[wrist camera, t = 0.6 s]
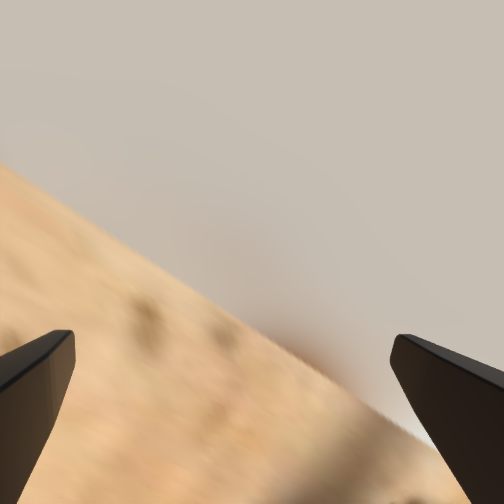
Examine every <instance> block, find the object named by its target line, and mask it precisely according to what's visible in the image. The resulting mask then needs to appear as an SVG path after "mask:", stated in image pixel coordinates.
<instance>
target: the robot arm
mask: <svg viewBox="0 0 504 504" xmlns="http://www.w3.org/2000/svg"><path fill="white" fill-rule="evenodd" d="M75 361H76V356H75V336H74V332H73V331H72V330H54V331H51V332H49V333H47V334H45V335H43V336H41V337H39V338H37V339H35V340H33V341H31V342H29V343H27V344H25V345H23V346H20V347H18V348H16V349H14V350H12V351H10V352H8V353H6V354H4V355H2V356H0V504H17V502H18V500H19V498H20V496H21V494H22V491H23V489H24V487H25V485H26V483H27V481H28V479H29V477H30V475H31V473H32V471H33V469H34V467H35V465H36V462H37V460H38V458H39V456H40V454H41V452H42V450H43V448H44V446H45V444H46V442H47V440H48V438H49V436H50V433H51V431H52V429H53V427H54V424H55V422H56V419H57V416H58V413H59V411H60V408H61V405H62V402H63V399H64V396H65V393H66V390H67V388H68V385H69V382H70V379H71V376H72V373H73V370H74V367H75ZM390 365H391V367H392V369H393V371H394V373H395V375H396V377H397V379H398V381H399V383H400V385H401V387H402V389H403V391H404V393H405V395H406V397H407V399H408V401H409V403H410V405H411V407H412V408H413V410H414V412H415V414H416V416H417V417H418V419H419V420H420V422H421V424H422V425H423V427H424V428H425V430H426V432H427V433H428V435H429V437H430V438H431V440H432V441H433V443H434V444H435V446H436V448H437V449H438V451H439V452H440V454H441V456H442V457H443V459H444V460H445V462H446V464H447V465H448V467H449V468H450V470H451V472H452V473H453V475H454V476H455V478H456V480H457V481H458V483H459V484H460V486H461V488H462V489H463V491H464V492H465V494H466V496H467V497H468V499H469V500H470V502H471V504H504V372H503V371H501V370H498V369H496V368H493V367H491V366H488V365H486V364H483V363H481V362H479V361H476V360H474V359H471V358H469V357H466V356H464V355H461V354H459V353H456V352H454V351H451V350H449V349H446V348H444V347H441V346H439V345H436V344H434V343H431V342H429V341H427V340H424V339H422V338H419V337H417V336H414V335H411V334H399V335H397V336H396V338H395V341H394V345H393V348H392V352H391V355H390Z"/></svg>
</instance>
